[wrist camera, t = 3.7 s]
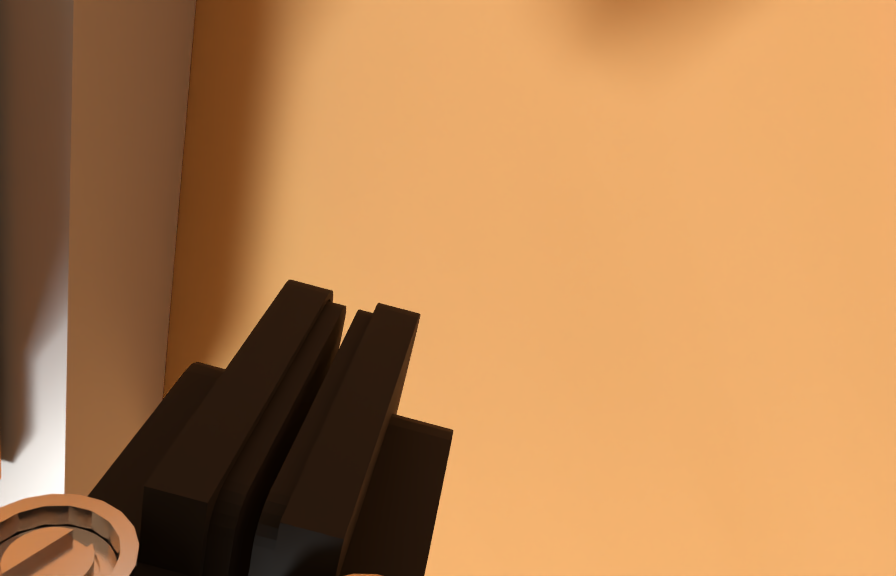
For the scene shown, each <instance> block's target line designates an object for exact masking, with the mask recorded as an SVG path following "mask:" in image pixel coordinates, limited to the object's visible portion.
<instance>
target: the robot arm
mask: <svg viewBox="0 0 896 576" xmlns="http://www.w3.org/2000/svg"><path fill="white" fill-rule="evenodd" d="M332 302H333V291H332V290H328V289H324V288H320V287H317V286H313V285H309V284H305V283H301V282H298V281H294V280H288V281H287V282H286V284H285V285H284V287H283V288H282V289H281V291H280V292H279V294H278V295H277V297H276V298H275V299H274V301H273V302H272V304H271V305H270V307H269V308H268V309H267V311H266V312H265V314H264V315H263V317H262V318H261V319H260V321H259V322H258V324H257V325H256V327H255V328H254V329H253V331H252V332H251V334H250V335H249V337H248V338H247V339H246V341H245V342H244V344H243V345H242V347H241V348H240V349H239V351H238V352H237V354H236V355H235V357H234V358H233V359H232V361H231V362H230V364H229V365H228V367H227V368H226V369H222V368H218V367H214V366H211V365H207V364H203V363H199V362H196V363H193V364H192V365H191V366H190V367H189V368H188V369H187V370H186V371H185V372H184V373H183V374H182V376H181V377H180V378H179V380H178V381H177V382H176V383H175V385H174V386H173V387H172V389H171V390H170V391H169V392H168V394H167V395H166V396H165V397H164V399H163V400H162V401H161V403H160V404H159V405H158V406H157V408H156V409H155V410H154V412H153V413H152V414H151V415H150V417H149V418H148V419H147V421H146V422H145V423H144V424H143V426H142V427H141V428H140V429H139V431H138V432H137V433H136V435H135V436H134V437H133V438H132V440H131V441H130V442H129V444H128V445H127V446H126V447H125V449H124V450H123V451H122V453H121V454H120V455H119V456H118V458H117V459H116V460H115V461H114V463H113V464H112V465H111V467H110V468H109V469H108V470H107V472H106V473H105V474H104V476H103V477H102V478H101V479H100V481H99V482H98V483H97V485H96V486H95V487H94V488H93V490H92V491H91V492H90V493H89V495H88V496H87V497H86V496H82V495H76V494H47V495H41V496H35V497H29V498H24V499H21V500H19V501H16V502H13V503H11V504H8V505H5V506H3V507H0V576H424V574H425V569H426V565H427V560H428V555H429V550H430V545H431V540H432V535H433V530H434V525H435V520H436V515H437V510H438V505H439V500H440V495H441V490H442V485H443V481H444V476H445V471H446V466H447V461H448V456H449V451H450V446H451V441H452V435H453V430H452V429H448V428H444V427H440V426H437V425H433V424H429V423H425V422H422V421H418V420H414V419H410V418H406V417H403V416H399V415H396V414H397V410H398V406H399V402H400V397H401V393H402V389H403V385H404V381H405V377H406V373H407V369H408V365H409V361H410V356H411V352H412V348H413V344H414V340H415V336H416V332H417V328H418V324H419V319H420V314H419V313H415V312H411V311H407V310H404V309H400V308H396V307H392V306H388V305H385V304H381V303H378V304H377V306H376V308H375V310H374V312H373V313H370V312H366V311H363V310H358V311H357V313H356V315H355V317H354V319H353V321H352V323H351V325H350V328H349V330H348V332H347V334H346V336H345V338H344V340H343V342H342V344H341V346H340V341H341V336H342V331H343V326H344V320H345V315H346V306H344V305H340V304H336V303H332ZM339 346H340V348H339Z"/></svg>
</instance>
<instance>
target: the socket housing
mask: <svg viewBox="0 0 896 576" xmlns="http://www.w3.org/2000/svg"><path fill="white" fill-rule="evenodd" d="M195 7H196V0H0V452H1V479H0V507H3V506H5V505H8V504H11V503H13V502H16V501H19V500H21V499H24V498H29V497H35V496H41V495H47V494H76V495H82V496H86V497H87V496H88V495H89V493H90V492H91V491H92V490H93V488H94V487H95V486H96V485H97V483H98V482H99V481H100V479H101V478H102V477H103V476H104V474H105V473H106V472H107V470H108V469H109V468H110V467H111V465H112V464H113V463H114V461H115V460H116V459H117V458H118V456H119V455H120V454H121V453H122V451H123V450H124V449H125V447H126V446H127V445H128V444H129V442H130V441H131V440H132V438H133V437H134V436H135V435H136V433H137V432H138V431H139V429H140V428H141V427H142V426H143V424H144V423H145V422H146V421H147V419H148V418H149V417H150V415H151V414H152V413H153V412H154V410H155V409H156V408H157V406H158V405H159V404H160V403H161V401H162V400H163V389H164V377H165V365H166V353H167V341H168V329H169V317H170V305H171V294H172V282H173V270H174V258H175V246H176V234H177V222H178V210H179V198H180V186H181V174H182V162H183V150H184V138H185V126H186V114H187V102H188V90H189V78H190V66H191V54H192V42H193V31H194V19H195Z"/></svg>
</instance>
